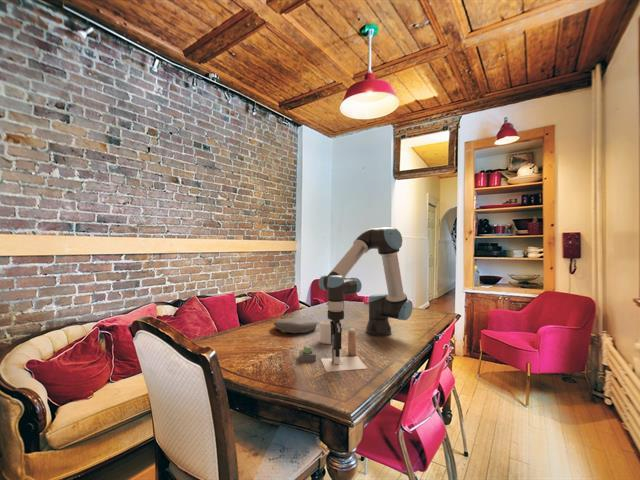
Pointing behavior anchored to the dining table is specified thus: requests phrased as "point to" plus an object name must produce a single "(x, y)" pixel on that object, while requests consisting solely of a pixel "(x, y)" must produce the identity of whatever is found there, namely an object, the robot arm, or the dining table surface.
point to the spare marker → (351, 342)
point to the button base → (307, 356)
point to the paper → (343, 364)
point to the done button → (307, 350)
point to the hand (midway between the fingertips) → (335, 361)
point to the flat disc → (296, 325)
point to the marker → (333, 350)
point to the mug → (325, 332)
